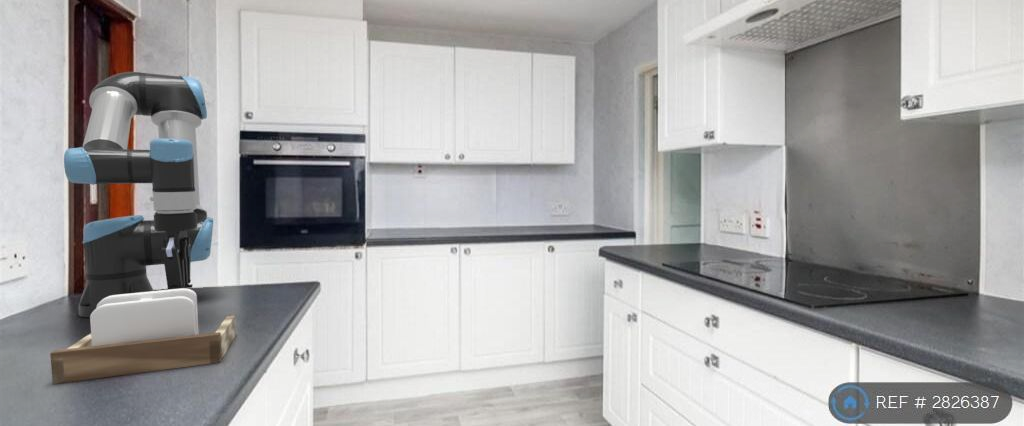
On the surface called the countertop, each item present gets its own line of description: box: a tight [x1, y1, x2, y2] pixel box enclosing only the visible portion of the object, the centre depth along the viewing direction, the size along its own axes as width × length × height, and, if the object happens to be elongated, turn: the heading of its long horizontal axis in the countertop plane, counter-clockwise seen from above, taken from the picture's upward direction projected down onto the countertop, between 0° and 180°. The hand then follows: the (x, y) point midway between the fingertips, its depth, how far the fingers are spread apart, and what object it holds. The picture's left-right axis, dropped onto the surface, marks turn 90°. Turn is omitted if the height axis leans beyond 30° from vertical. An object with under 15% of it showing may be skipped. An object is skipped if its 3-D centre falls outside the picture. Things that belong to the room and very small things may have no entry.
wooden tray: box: [50, 315, 237, 385], centre depth 87 cm, size 16×23×5 cm
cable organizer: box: [89, 288, 200, 346], centre depth 85 cm, size 15×11×12 cm
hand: (181, 319), depth 103 cm, fingers closed
